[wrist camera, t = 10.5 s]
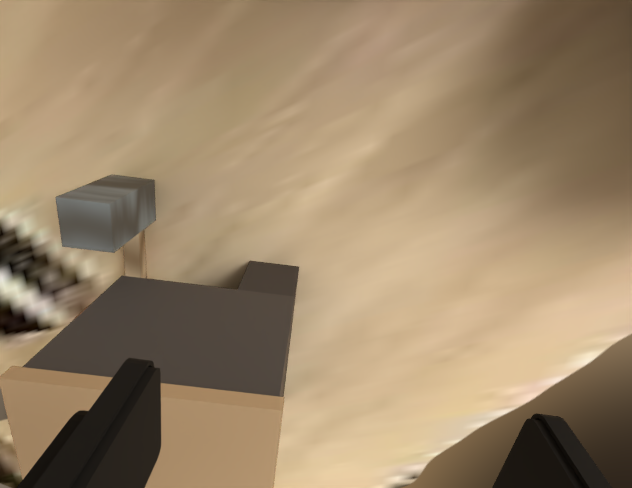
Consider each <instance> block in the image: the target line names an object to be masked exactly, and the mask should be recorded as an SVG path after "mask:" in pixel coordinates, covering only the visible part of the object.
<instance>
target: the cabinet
mask: <svg viewBox="0 0 632 488" xmlns="http://www.w3.org/2000/svg"><path fill="white" fill-rule="evenodd" d="M298 271H299V267H296V266H288V265H280V264H272V263H264V262H256V261H250V262H249V265H248V267H247V269H246V271H245V274H244V276H243V278H242V280H241V283H240V285H239V287H238V290H237V289H228V288H220V287H212V286H204V285H195V284H187V283H179V282H171V281H163V280H154V279H146V278H138V277H130V276H121V277H120V278H119V279H118V280H117V281H116V282H115V283H113V284H112V285H111V286H110V287H109V288H108V289H107V290H106V291H105V292H104V293H103V294H101V295H100V296H99V297H98V298H97V299H96V300H95V301H94V302H93V303H92V304H91V305H89V306H88V307H87V308H86V309H85V310H84V311H83V312H82V313H81V314H80V315H79V316H78V317H76V318H75V319H74V320H73V321H72V322H71V323H70V324H69V325H68V326H67V327H66V328H64V329H63V330H62V331H61V332H60V333H59V334H58V335H57V336H56V337H55V338H54V339H52V340H51V341H50V342H49V343H48V344H47V345H46V346H45V347H44V348H43V349H42V350H40V351H39V352H38V353H37V354H36V355H35V356H34V357H33V358H32V359H31V360H30V361H28V362H27V363H26V364H25V365H24V366H23V367H17V366H12V367H10V368H9V369H8V370H7V371H6V372H5V373H4V374H3V375H1V376H0V388H1V392H2V396H3V400H4V404H5V408H6V412H7V417H8V421H9V425H10V429H11V433H12V437H13V441H14V445H15V450H16V454H17V458H18V462H19V466H20V470H21V474H22V478H23V479H24V478H25V476H26V475H27V474H28V472H29V471H30V470H31V468H32V467H33V466H34V465H35V463H36V462H37V461H38V459H39V458H40V457H41V455H42V454H43V453H44V452H45V450H46V449H47V448H48V446H49V445H50V444H51V442H52V441H53V440H54V438H55V437H56V436H57V435H58V433H59V432H60V431H61V429H62V428H63V427H64V425H65V424H66V423H67V422H68V420H69V419H70V418H71V417H72V416H73V415H74V414H75V413H76V412H78V411H80V410H85V411H89V410H90V408H91V407H92V406H93V404H94V403H95V401H96V400H97V399H98V397H99V396H100V395H101V393H102V392H103V390H104V389H105V388H106V386H107V385H108V384H109V382H110V381H111V379H112V378H113V377H114V375H115V374H116V373H117V371H118V370H119V368H120V367H121V366H122V364H123V363H124V362H125V361H126V359H128V358H135V359H143V360H150V361H153V363H154V367H155V368H160V372H161V449H160V453H159V456H158V459H157V462H156V464H155V466H154V468H153V470H152V473H151V475H150V477H149V479H148V481H147V484H146V486H145V488H273V487H274V479H275V471H276V463H277V454H278V446H279V438H280V430H281V422H282V413H283V405H284V397H283V396H284V387H285V379H286V371H287V362H288V354H289V346H290V337H291V329H292V321H293V313H294V304H295V296H296V288H297V279H298Z"/></svg>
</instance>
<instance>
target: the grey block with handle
mask: <svg viewBox="0 0 632 488" xmlns="http://www.w3.org/2000/svg"><path fill="white" fill-rule="evenodd" d="M56 204H57V211H58V218H59V225H60V232H61V239H62V246H63V247H71V248H80V249H88V250H96V251H104V252H113V253H114V252H115V251H117V250H118V249H119V248H120V247H122V246H123V253H124V266H125V276H130V277H138V278H146V279H147V276H146V256H145V237H144V229H145V228H146V227H148V226H149V225H150V224H151V223H153V222H154V221H155V220H156V211H155V185H154V180H150V179H142V178H134V177H126V176H118V175H110V176H107V177H105V178H102V179H100V180H97V181H95V182H92V183H90V184H87V185H85V186H82V187H80V188H77V189H75V190H72V191H70V192H67V193H65V194H62V195H60V196H57V197H56Z"/></svg>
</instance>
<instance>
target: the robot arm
mask: <svg viewBox="0 0 632 488" xmlns="http://www.w3.org/2000/svg"><path fill="white" fill-rule="evenodd" d="M160 449H161V372H160V368H155V367H154V363H153V361H150V360H143V359H135V358H128V359H126V361H125V362H124V363H123V364H122V366H121V367H120V368H119V370H118V371H117V373H116V374H115V375H114V377H113V378H112V379H111V381H110V382H109V384H108V385H107V386H106V388H105V389H104V390H103V392H102V393H101V395H100V396H99V397H98V399H97V400H96V401H95V403H94V404H93V406H92V407H91V408H90V410H89V411H85V410H80V411H78V412H76V413H75V414H74V415H73V416H72V417H71V418H70V419H69V420H68V422H67V423H66V424H65V425H64V427H63V428H62V429H61V431H60V432H59V433H58V435H57V436H56V437H55V438H54V440H53V441H52V442H51V444H50V445H49V446H48V448H47V449H46V450H45V452H44V453H43V454H42V455H41V457H40V458H39V459H38V461H37V462H36V463H35V465H34V466H33V467H32V468H31V470H30V471H29V472H28V474H27V475H26V476H25V478H24V479H23V480H22V482H21V483H20V484H19V485H18V487H17V488H145V486H146V484H147V481H148V479H149V477H150V475H151V473H152V470H153V468H154V466H155V464H156V462H157V459H158V456H159V453H160ZM493 488H612V487H611V486H610V484H609V483H608V481H607V480H606V478H605V477H604V476H603V474H602V473H601V471H600V470H599V468H598V467H597V466H596V464H595V463H594V461H593V460H592V459H591V457H590V456H589V454H588V453H587V451H586V450H585V448H584V447H583V446H582V444H581V443H580V441H579V440H578V439H577V437H576V436H575V434H574V433H573V431H572V430H571V429H570V427H569V426H568V424H567V423H566V422H565V421H564V420H563V419H562V418H561V417H558V416H551V415H543V414H534V415H533V416H532V417H531V419H527V420H526V421H525V423H524V425H523V427H522V429H521V431H520V433H519V435H518V437H517V439H516V441H515V443H514V445H513V447H512V449H511V451H510V453H509V455H508V457H507V459H506V461H505V463H504V465H503V467H502V470H501V471H500V473H499V475H498V477H497V479H496V482H495V483H494V485H493Z"/></svg>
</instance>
